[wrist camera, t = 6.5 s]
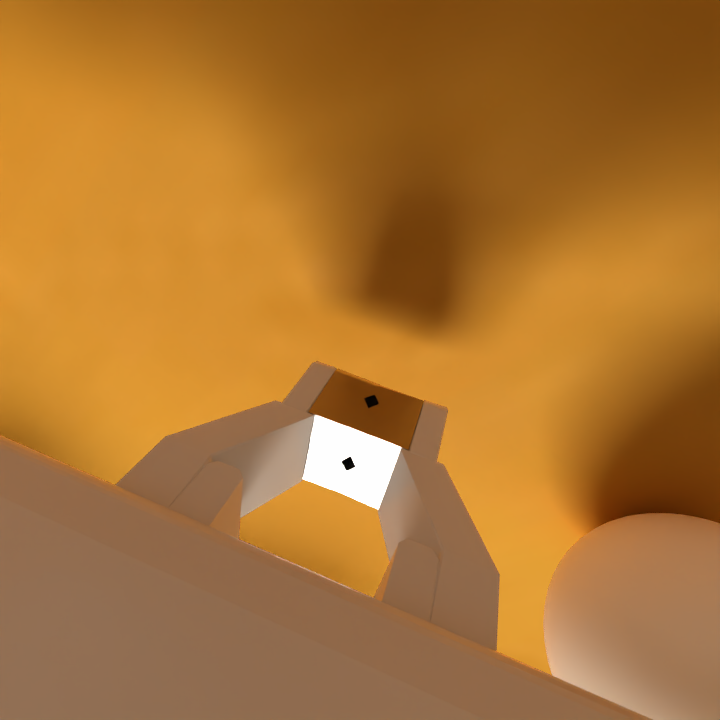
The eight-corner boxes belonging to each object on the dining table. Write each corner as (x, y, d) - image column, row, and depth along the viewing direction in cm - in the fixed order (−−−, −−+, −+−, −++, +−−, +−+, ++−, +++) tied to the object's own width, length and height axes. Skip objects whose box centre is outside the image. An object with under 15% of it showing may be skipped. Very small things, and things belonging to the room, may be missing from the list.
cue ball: (1087, 1048, 5) (978, 572, 7) (676, 910, 5) (685, 463, 7) (693, 790, 10) (695, 551, 12) (481, 715, 10) (519, 487, 12)
